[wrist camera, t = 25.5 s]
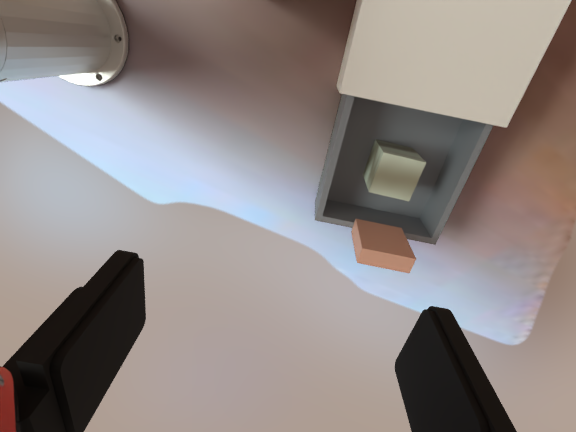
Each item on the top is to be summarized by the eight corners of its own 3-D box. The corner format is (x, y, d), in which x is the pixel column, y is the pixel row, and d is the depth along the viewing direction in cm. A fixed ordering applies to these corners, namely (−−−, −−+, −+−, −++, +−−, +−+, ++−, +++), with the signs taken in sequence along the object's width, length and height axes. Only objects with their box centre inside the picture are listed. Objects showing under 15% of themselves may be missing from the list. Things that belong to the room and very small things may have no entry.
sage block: (375, 138, 41) (383, 152, 36) (412, 147, 41) (426, 162, 36) (362, 174, 43) (368, 192, 38) (397, 182, 43) (409, 201, 38)
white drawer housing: (336, 86, 39) (339, 93, 33) (377, -87, 31) (392, -120, 25) (476, 115, 39) (506, 127, 33) (551, -50, 32) (608, -73, 25)
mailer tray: (314, 204, 47) (313, 253, 35) (348, 67, 38) (361, 75, 27) (420, 225, 47) (452, 281, 36) (479, 94, 38) (546, 113, 27)
